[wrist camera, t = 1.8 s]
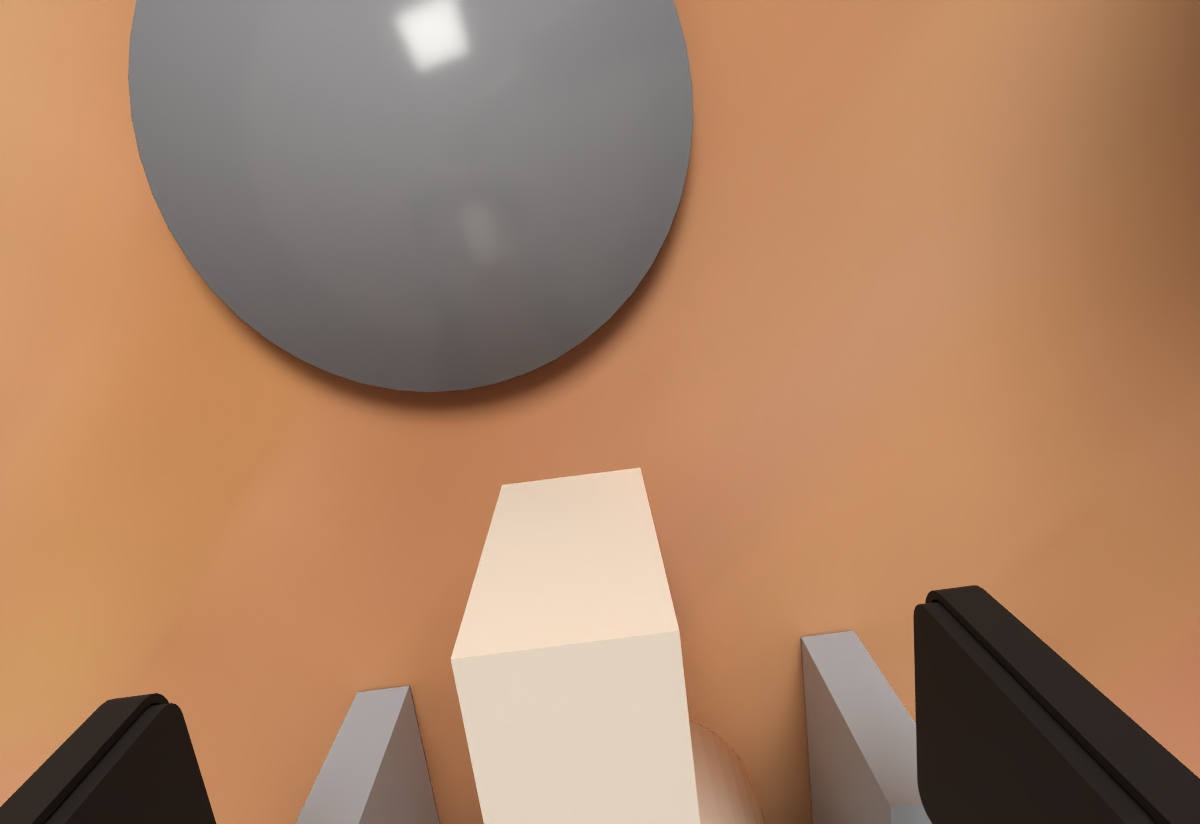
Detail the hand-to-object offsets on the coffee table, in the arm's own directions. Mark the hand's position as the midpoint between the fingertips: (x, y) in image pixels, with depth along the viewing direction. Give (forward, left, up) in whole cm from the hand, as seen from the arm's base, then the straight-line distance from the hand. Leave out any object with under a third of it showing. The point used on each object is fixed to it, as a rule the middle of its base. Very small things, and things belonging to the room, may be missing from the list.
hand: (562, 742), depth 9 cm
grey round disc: (+2, -8, -7) cm, 11 cm away
